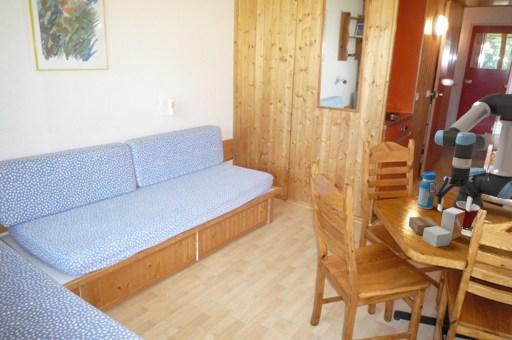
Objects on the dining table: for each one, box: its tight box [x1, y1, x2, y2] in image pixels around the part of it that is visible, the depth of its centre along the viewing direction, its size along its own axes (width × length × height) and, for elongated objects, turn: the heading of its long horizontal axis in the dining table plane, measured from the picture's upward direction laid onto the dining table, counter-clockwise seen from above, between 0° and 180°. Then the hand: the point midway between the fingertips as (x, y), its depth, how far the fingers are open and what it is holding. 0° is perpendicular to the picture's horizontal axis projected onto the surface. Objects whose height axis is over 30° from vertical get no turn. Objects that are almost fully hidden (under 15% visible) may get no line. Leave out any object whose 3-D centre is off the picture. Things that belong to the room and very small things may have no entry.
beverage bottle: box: [416, 171, 437, 210], centre depth 217 cm, size 8×8×20 cm
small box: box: [440, 206, 465, 241], centre depth 182 cm, size 8×6×13 cm
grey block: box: [422, 225, 451, 248], centre depth 176 cm, size 8×8×6 cm
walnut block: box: [408, 216, 439, 235], centre depth 189 cm, size 10×10×5 cm
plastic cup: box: [456, 201, 480, 229], centre depth 192 cm, size 11×11×12 cm
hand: (453, 210), depth 180 cm, fingers open, 13 cm apart
